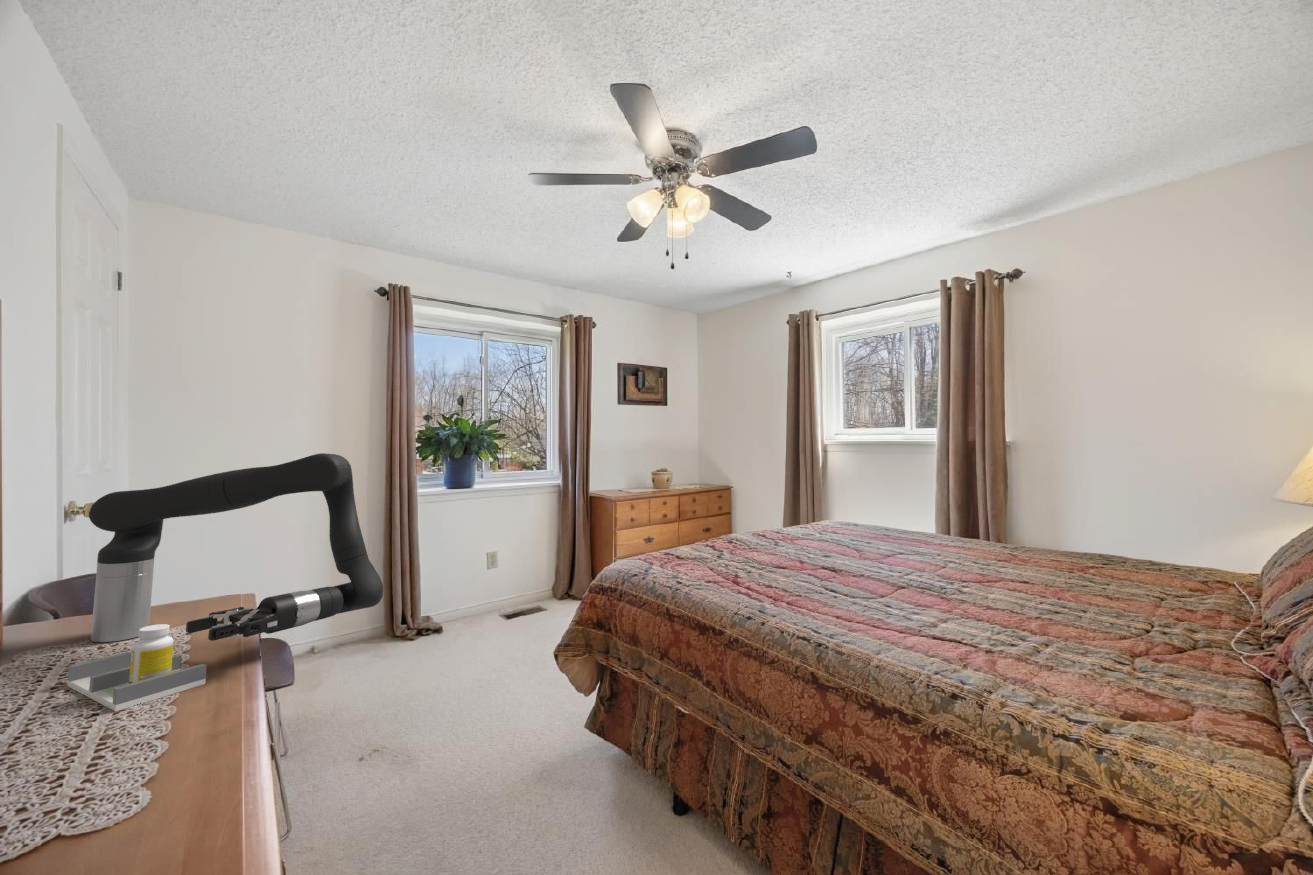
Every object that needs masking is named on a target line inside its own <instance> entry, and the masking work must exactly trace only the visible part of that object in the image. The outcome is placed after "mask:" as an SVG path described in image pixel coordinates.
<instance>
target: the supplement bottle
mask: <svg viewBox="0 0 1313 875" xmlns="http://www.w3.org/2000/svg"><path fill="white" fill-rule="evenodd" d="M169 633H170V624H165V623H164V624H163V623H159V624H152V625H149V626H146V627H143V628H141V629H139V634H138V637H137V638H138V639H139V640H138V641H136V642H134V643H133V644H132V645H131V646H132V647H131V651H132V652H131V651H130V652H131V663H130V675H129V684H130V683H134V682H137V681H141V680H145V679H148V678H152V677H156V676H159V675H163V674H167V673H170V672H171V669H172V656H174V654H173V653H174V639H173V637H172V636H168V635H169Z"/></svg>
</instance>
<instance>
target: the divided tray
mask: <svg viewBox="0 0 1313 875" xmlns="http://www.w3.org/2000/svg"><path fill="white" fill-rule="evenodd" d="M131 652H132V650H130V651H128V652H123V653H119V654H114V655H110V656H107V657H106V656H104V657H102V658H98V659H94V660H93V659H92V660H89V661H85V662H81V663H76V664H73V665H68V673H67V684H66V685H67V687H68V688H70V689H73V690H74V691H75V692H78V693H80V694H82V695H84V696H86V697H88V699H92V700H93V701H94V702H97V703H98V704H101V705H102V706H104V707H106V708H108V709H110V710H112V711H114V712H118V711H121V710H125V709H127V708H131V707H135V706H138V705H141V704H144V703H148V702H151V701H154V700H157V699H158V700H159V699H161V698H164V697H167V696H171V695H174V694H177V693H180V692H184V691H186V690H190V689H194V688H197V687H201V686H203V685H205V684H206V679H207V664H205V663H204V662H203V663H200V664H197V665H193V666H189V667H186V668H182V660H183V656H182V655H181V654H180V653H179V654H173V656H172V669H171V672H170V673H167V674H163V675H159V676H156V677H152V678H148V679H145V680H141V681H137V682H134V683H130V684H129V675H130V663H131ZM140 703H141V704H140ZM137 704H138V705H137ZM134 705H135V706H134Z"/></svg>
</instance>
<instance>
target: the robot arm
mask: <svg viewBox="0 0 1313 875" xmlns="http://www.w3.org/2000/svg"><path fill="white" fill-rule="evenodd" d="M352 470H353V469H352V466H351V464H350V462H349V461H348V460H347V459H346V458H345V457H344V456H341V455H340V454H336V453H325V452H324V453H315V454H312V455H308V456H305V457H301V458H299V459H296V460H292V461H287V462H283V463H281V464H275V465H270V466H269V465H268V466H258V467H247V468H241V469H234V470H229V471H223V472H218V473H213V474H209V475H203V476H201V477H200V476H199V477H195V478H192V479H187V480H183V481H180V482H176V483H172V484H169V485H165V486H160V487H154V488H147V489H133V490H120V491H113V492H109V493H108V494H105V495H103V496H101V497H100V498H98V499H97V500H96V501H95V502H94V503H93V504H92V505H91V507H90V508H89V511H88V518H89V520H90V522H91V523H92V524H93V526H95V527H96V528H98V529H100V530H102V531H107V532H111V533H114V535H113V537H112V539H111V540H110V542H108V543H107V544H105V546H103V547H102V548H100V549H99V550H98V552H97V560H96V561H97V562H96V571H95V572H96V574H95V587H94V596H93V597H94V598H93V610H92V622H91V632H90V641H91V642H95V643H109V642H110V643H111V642H119V641H124V640H130V639H135V638H138V637H139V636H138V634H139V629H141V628H143V627H146V626H150V620H151V619H150V618H151V606H152V595H153V594H152V593H153V581H154V580H153V579H154V570H155V569H154V566H155V556H156V551H157V549H158V547H159V546H160V543H161V539H162V533H163V526H164V520H166V519H172V518H180V517H181V518H182V517H193V516H203V515H208V514H209V515H210V514H218V513H223V512H229V511H234V510H240V509H243V508H248V507H251V506H255V505H258V504H260V503H263V502H266V501H269V500H271V499H274V498H277V497H279V496H280V497H281V496H284V495H290V494H291V495H292V494H299V493H309V492H322V494H323V495H324V499H325V501H326V505H327V508H328V514H329V516H328V517H329V544H330V549H331V554H332V556H333V560H334V563H335V567H336V569H337V571H338V573H340V574H342V575H346V576H348V579H349V581H350V582H346V583H342V584H338V585H334V586H323V587H318V588H313V589H307V590H298V591H293V592H287V593H284V594H283V593H282V594H277V595H272V596H267V597H265V598H263V599H262V600H261V601H260V602H259V605H258V606H257V608H255V609H254V608H253V607H246V608H245V607H244V606H239V607H235V608H229V609H223V610H219V611H212V612H210V613H208V616H207V617H203V618H202V617H201V618H198V619H193V620H190V621H189V620H188V621H187V622H186V624H185V631H186V632H185V633H188V634H192V633H197V632H201V631H206V630H208V635H207V636H208V638H207V639H208V641H211V642H214V641H217V640H222V639H226V638H230V637H241V636H242V638H248V637H252V636H256V635H259V634H264V633H265V634H267V635H269V634H270V635H271V634H273V633H278V632H282V631H285V630H290V629H293V628H297V627H301V626H305V625H307V624H310V623H312V622H316V621H320V620H324V619H327V618H331V617H334V616H335V615H339V614H344V613H347V612H348V613H349V612H354V611H357V610H358V611H359V610H364V609H369V608H372V607H375V606H377V605H378V604H379V603H380V602H381V600H382V599H383V597H384V584H383V581H382V579H381V577H380V575H379V573H378V572H377V570H376V568H375V566H374V564H372V562H371V561H370V558H369V556H368V551H367V547H366V544H365V541H364V537H363V534H362V530H361V526H360V521H359V517H358V512H357V507H356V506H357V505H356V500H355V499H356V498H355V492H354V479H353V471H352ZM221 618H222V619H221ZM218 619H221V620H218Z"/></svg>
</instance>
